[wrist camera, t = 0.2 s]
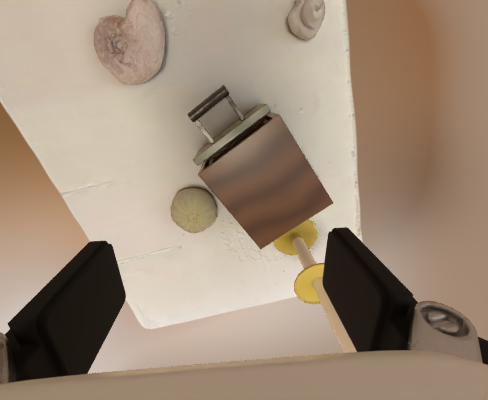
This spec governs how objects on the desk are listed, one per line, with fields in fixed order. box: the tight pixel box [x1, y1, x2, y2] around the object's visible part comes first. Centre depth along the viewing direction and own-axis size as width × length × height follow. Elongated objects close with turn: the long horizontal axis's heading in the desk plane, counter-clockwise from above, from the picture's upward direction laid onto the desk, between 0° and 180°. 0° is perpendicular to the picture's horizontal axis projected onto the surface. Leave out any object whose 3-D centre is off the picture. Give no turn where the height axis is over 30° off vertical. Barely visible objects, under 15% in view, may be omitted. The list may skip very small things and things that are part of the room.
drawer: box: [188, 85, 271, 166], centre depth 41 cm, size 22×14×7 cm, turn 36°
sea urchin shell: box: [171, 188, 217, 233], centre depth 47 cm, size 9×8×8 cm
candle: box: [274, 219, 357, 353], centre depth 38 cm, size 10×10×32 cm
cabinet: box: [198, 112, 333, 249], centre depth 43 cm, size 18×15×9 cm
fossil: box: [94, 0, 165, 84], centre depth 36 cm, size 12×4×10 cm
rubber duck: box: [288, 0, 325, 40], centre depth 34 cm, size 5×7×8 cm
